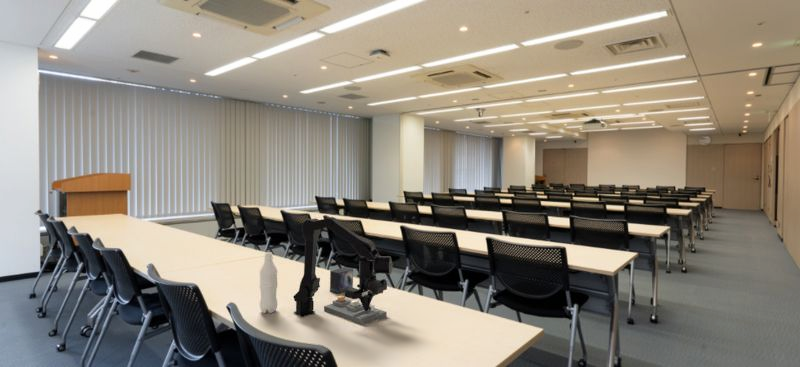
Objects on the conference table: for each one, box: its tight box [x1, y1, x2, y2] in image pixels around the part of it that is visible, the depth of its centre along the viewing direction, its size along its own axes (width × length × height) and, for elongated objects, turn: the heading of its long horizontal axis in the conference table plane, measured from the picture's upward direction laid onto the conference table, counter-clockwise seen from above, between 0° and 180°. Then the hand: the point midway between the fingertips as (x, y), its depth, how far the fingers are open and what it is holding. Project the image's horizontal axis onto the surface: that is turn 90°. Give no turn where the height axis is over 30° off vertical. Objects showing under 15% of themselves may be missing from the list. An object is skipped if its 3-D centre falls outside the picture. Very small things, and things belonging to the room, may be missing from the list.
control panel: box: [323, 298, 387, 326], centre depth 168 cm, size 13×24×4 cm, turn 48°
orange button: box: [336, 295, 346, 303], centre depth 174 cm, size 3×3×2 cm
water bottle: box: [259, 251, 278, 314], centre depth 170 cm, size 7×7×25 cm
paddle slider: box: [366, 303, 375, 313], centre depth 163 cm, size 2×3×3 cm, turn 48°
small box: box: [329, 267, 354, 294], centre depth 201 cm, size 11×6×10 cm, turn 143°
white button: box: [351, 299, 360, 307], centre depth 168 cm, size 3×3×2 cm
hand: (366, 310), depth 161 cm, fingers closed
